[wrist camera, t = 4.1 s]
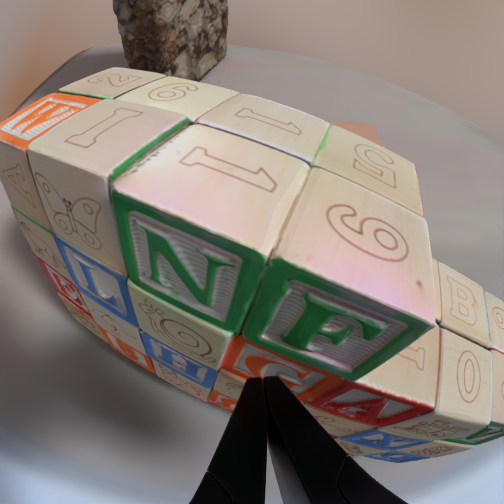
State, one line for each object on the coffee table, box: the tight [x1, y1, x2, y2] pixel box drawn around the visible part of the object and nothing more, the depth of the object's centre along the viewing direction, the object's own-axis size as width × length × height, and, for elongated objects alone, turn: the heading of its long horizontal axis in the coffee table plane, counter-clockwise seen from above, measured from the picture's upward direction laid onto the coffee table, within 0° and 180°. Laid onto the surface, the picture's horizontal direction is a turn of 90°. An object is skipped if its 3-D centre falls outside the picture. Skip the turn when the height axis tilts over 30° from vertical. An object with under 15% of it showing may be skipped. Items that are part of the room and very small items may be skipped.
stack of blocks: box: [0, 67, 504, 463], centre depth 11 cm, size 21×6×12 cm, turn 65°
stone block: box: [113, 0, 228, 82], centre depth 19 cm, size 13×7×20 cm, turn 163°
